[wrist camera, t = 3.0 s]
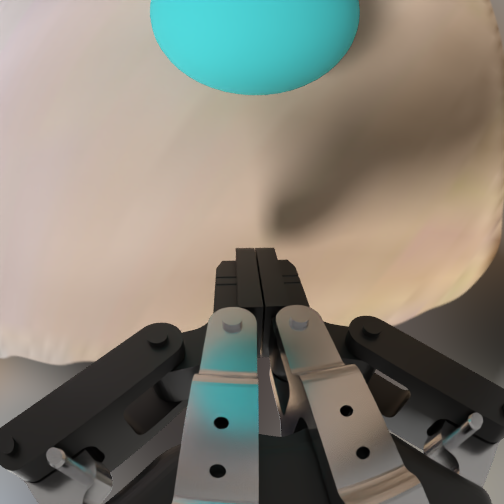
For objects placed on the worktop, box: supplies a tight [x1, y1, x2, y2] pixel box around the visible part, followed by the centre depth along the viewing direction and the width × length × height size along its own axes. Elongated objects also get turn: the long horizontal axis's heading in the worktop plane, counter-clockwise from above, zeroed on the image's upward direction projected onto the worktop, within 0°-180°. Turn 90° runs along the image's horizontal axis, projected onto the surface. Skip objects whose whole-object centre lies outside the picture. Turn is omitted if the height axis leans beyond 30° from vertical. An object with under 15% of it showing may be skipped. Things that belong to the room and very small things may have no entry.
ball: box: [150, 0, 360, 95], centre depth 5 cm, size 6×6×6 cm
